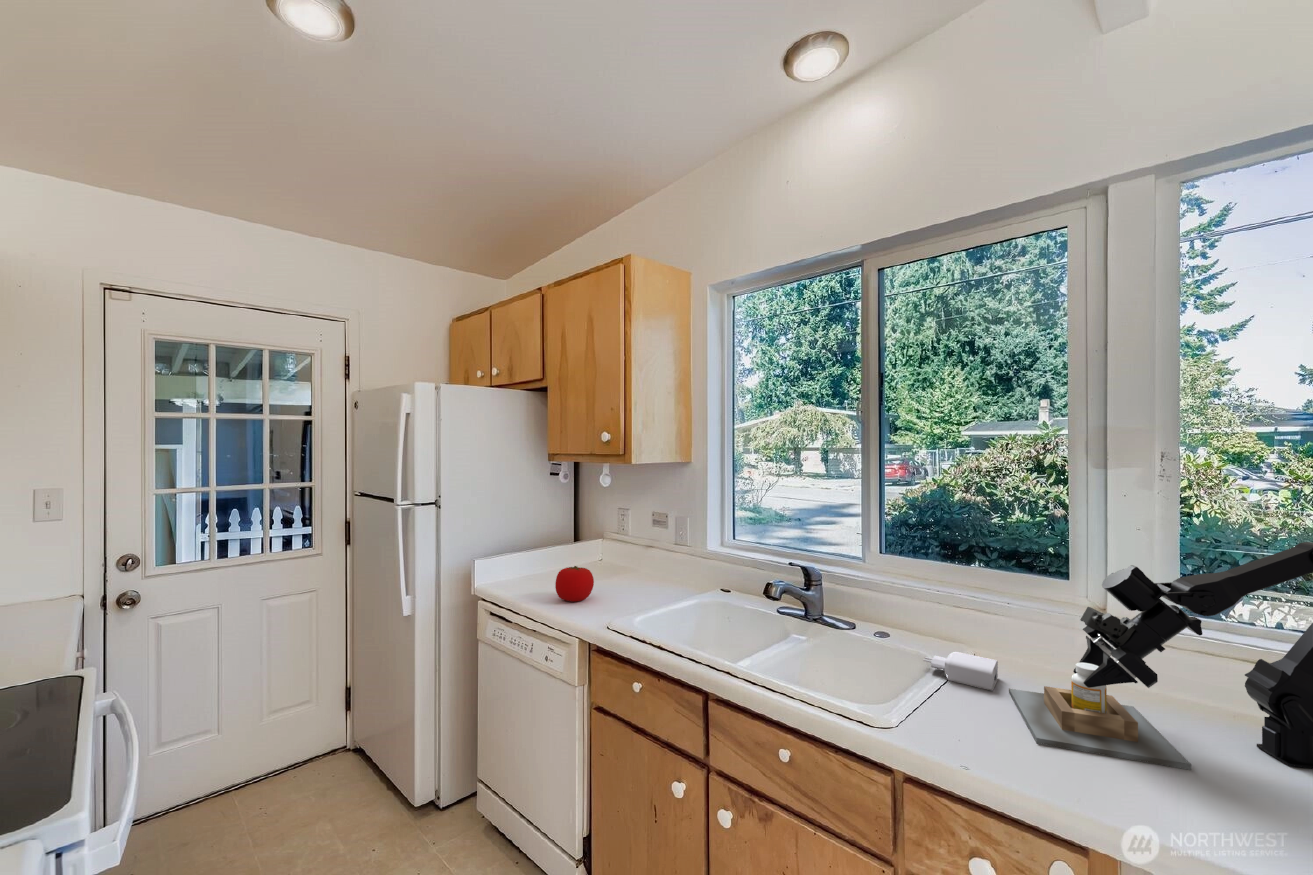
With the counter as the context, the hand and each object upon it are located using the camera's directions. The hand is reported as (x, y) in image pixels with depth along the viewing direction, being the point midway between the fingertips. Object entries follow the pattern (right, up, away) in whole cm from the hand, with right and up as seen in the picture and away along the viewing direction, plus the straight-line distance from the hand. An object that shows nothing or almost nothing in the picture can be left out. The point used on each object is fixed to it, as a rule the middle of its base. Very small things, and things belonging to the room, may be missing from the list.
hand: (1080, 679), depth 108 cm
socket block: (+1, -9, 0) cm, 9 cm away
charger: (-11, -10, +23) cm, 27 cm away
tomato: (-112, -9, +84) cm, 140 cm away
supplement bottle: (+1, -7, -1) cm, 7 cm away
